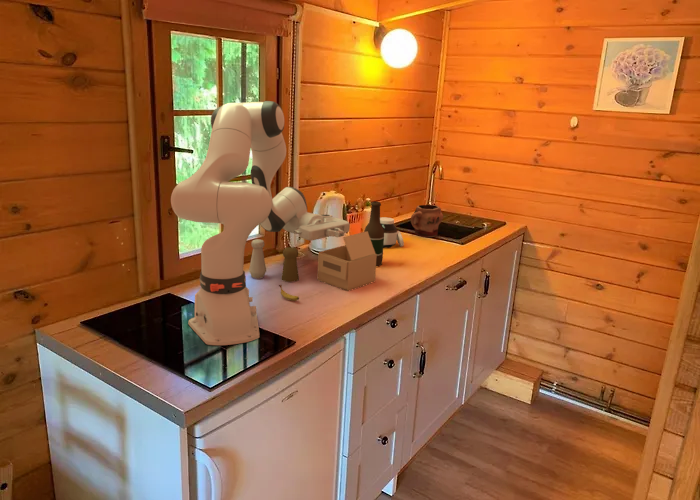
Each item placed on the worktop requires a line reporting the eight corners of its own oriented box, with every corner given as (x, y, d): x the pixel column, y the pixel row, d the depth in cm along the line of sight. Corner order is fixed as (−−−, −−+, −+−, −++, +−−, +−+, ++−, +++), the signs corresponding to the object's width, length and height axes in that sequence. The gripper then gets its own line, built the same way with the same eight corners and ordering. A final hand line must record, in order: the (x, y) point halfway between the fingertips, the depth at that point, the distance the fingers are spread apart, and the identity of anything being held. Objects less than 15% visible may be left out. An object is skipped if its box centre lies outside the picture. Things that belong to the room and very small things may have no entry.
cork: (282, 282, 185) (282, 250, 182) (280, 276, 190) (280, 245, 187) (300, 281, 186) (300, 250, 183) (297, 275, 192) (298, 245, 189)
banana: (277, 297, 172) (277, 285, 171) (281, 295, 173) (281, 283, 172) (296, 304, 167) (297, 291, 166) (300, 302, 169) (301, 290, 167)
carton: (314, 280, 188) (315, 252, 186) (344, 270, 200) (346, 244, 197) (346, 291, 179) (347, 262, 176) (376, 281, 190) (377, 253, 188)
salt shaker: (262, 280, 185) (262, 243, 182) (246, 278, 186) (246, 241, 183) (268, 274, 191) (269, 238, 187) (252, 273, 192) (253, 237, 188)
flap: (342, 237, 178) (343, 237, 178) (366, 231, 187) (367, 231, 187) (350, 260, 178) (351, 260, 177) (374, 253, 186) (375, 253, 186)
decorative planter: (422, 242, 242) (425, 211, 238) (400, 236, 250) (402, 206, 246) (447, 235, 257) (450, 206, 253) (426, 229, 264) (428, 201, 260)
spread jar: (369, 243, 236) (371, 217, 232) (389, 240, 242) (391, 215, 239) (387, 251, 227) (389, 223, 223) (408, 247, 233) (410, 221, 230)
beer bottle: (374, 259, 214) (378, 199, 207) (386, 265, 208) (390, 203, 201) (357, 262, 210) (361, 200, 203) (369, 268, 204) (373, 204, 197)
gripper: (291, 221, 187) (320, 230, 178) (332, 213, 202) (361, 221, 193) (290, 239, 189) (319, 248, 180) (331, 230, 203) (360, 238, 195)
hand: (341, 234), depth 187 cm, fingers closed
